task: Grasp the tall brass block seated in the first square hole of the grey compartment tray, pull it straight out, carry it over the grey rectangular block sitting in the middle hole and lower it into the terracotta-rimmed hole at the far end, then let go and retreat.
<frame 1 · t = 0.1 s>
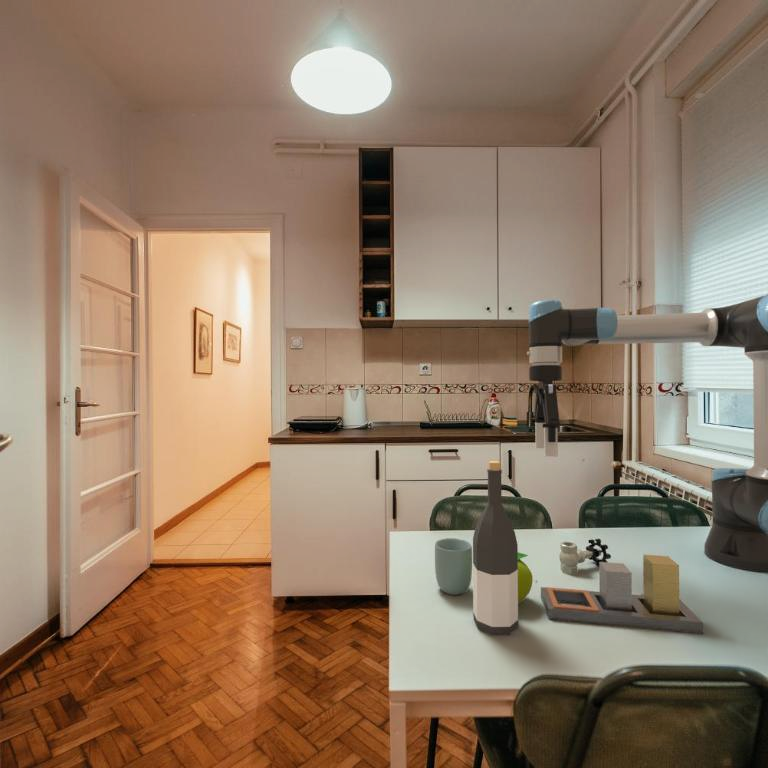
hand: (545, 452, 106), 28 cm above the table, fingers open, 13 cm apart
valve: (581, 570, 105), on the table
grey rectangular block: (615, 590, 84), in the grey compartment tray
fruit: (507, 603, 89), on the table
wine bottle: (495, 625, 80), on the table
grey compartment tray: (615, 613, 84), on the table
brass block: (660, 617, 82), resting in grey compartment tray
cup: (453, 591, 94), on the table
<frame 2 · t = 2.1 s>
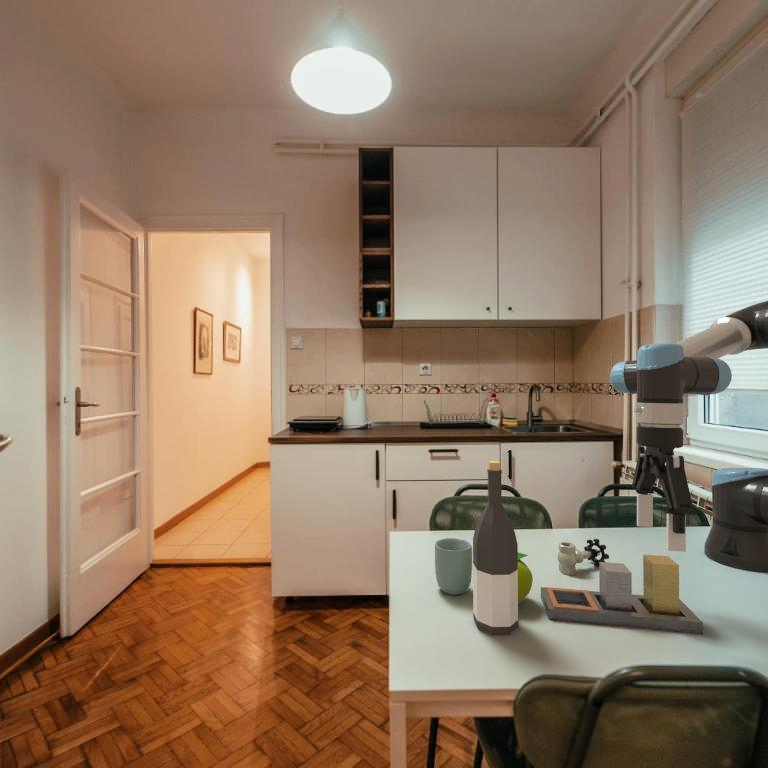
hand: (659, 537, 82), 15 cm above the table, fingers open, 13 cm apart
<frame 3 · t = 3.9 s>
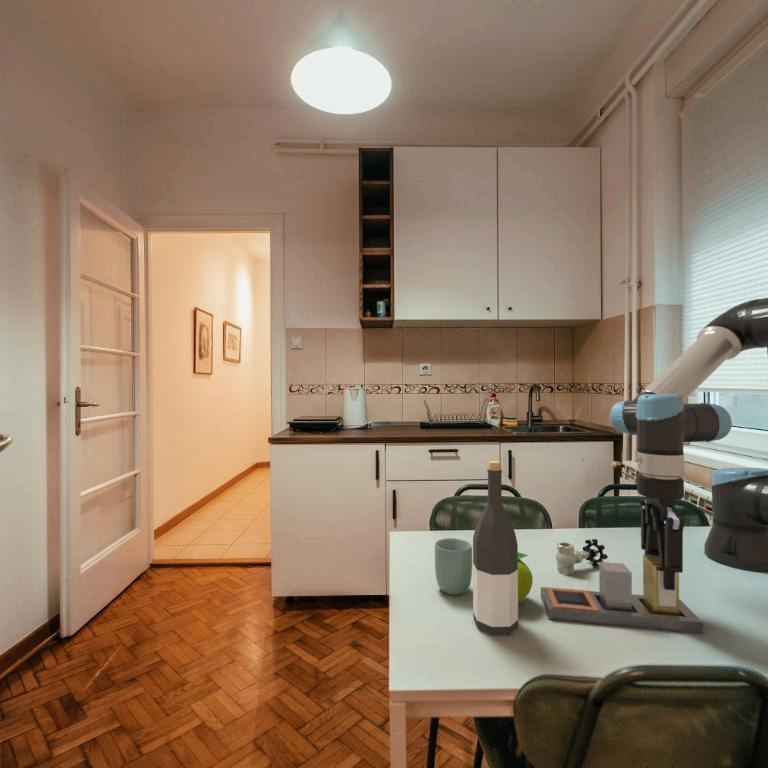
hand: (660, 598, 82), 4 cm above the table, fingers closed on brass block, 4 cm apart
brass block: (660, 617, 82), resting in grey compartment tray, touching gripper
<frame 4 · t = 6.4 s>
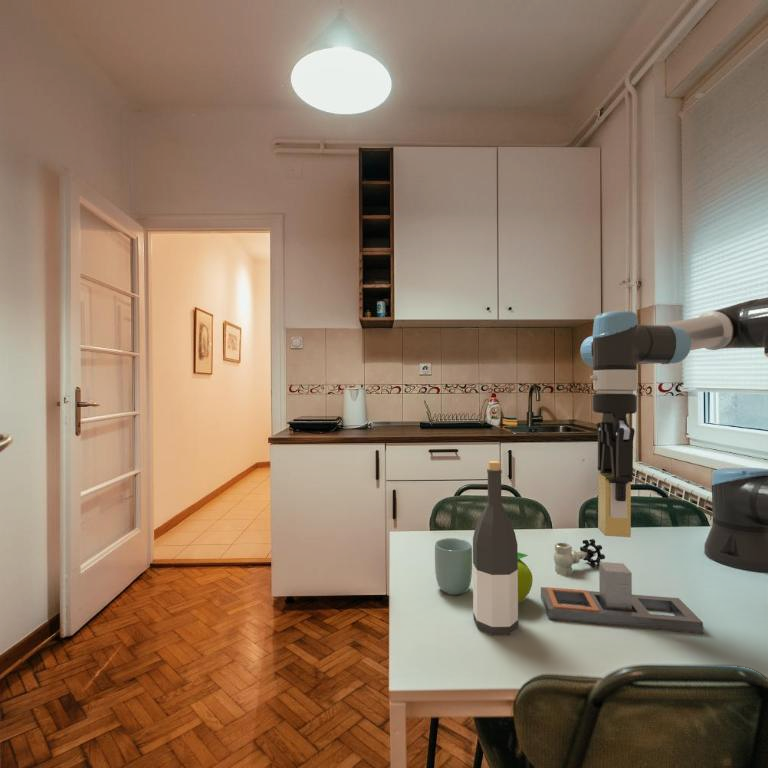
hand: (613, 513, 84), 19 cm above the table, fingers closed on brass block, 4 cm apart
brass block: (613, 532, 84), point 16 cm above the table, touching gripper
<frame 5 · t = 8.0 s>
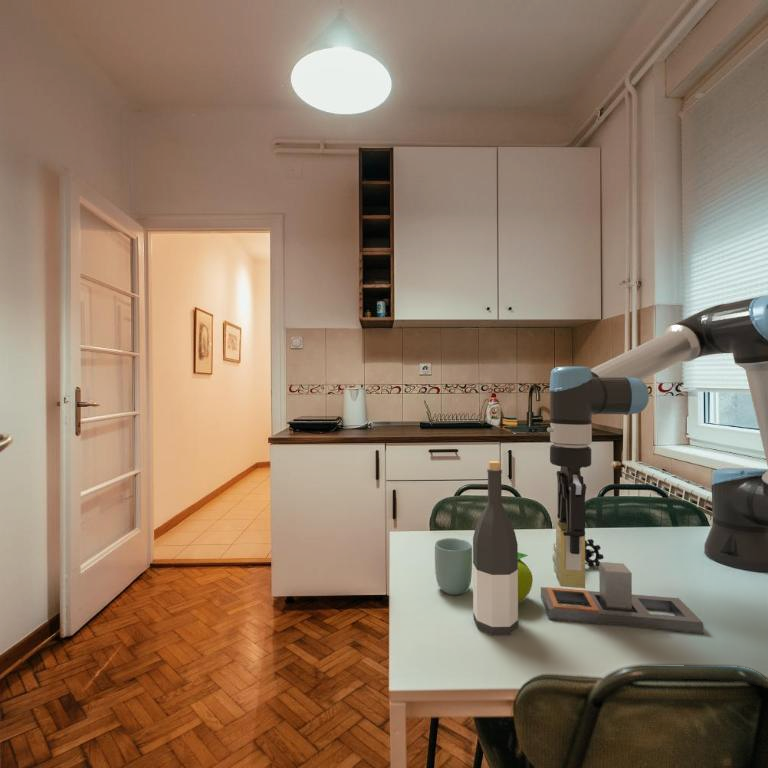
hand: (570, 563, 85), 9 cm above the table, fingers closed on brass block, 4 cm apart
brass block: (570, 582, 85), point 5 cm above the table, touching gripper
when the fingers open (5 cm above the table, at t = 9.2 s): brass block stays where it is, resting in grey compartment tray.
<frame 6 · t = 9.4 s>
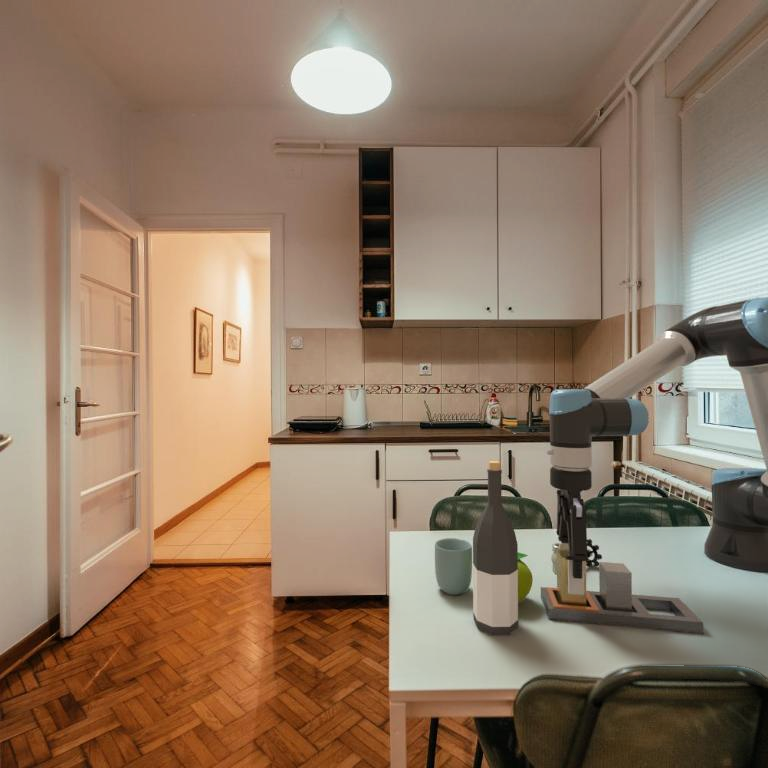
hand: (571, 583, 85), 5 cm above the table, fingers open, 7 cm apart
brass block: (571, 610, 85), resting in grey compartment tray
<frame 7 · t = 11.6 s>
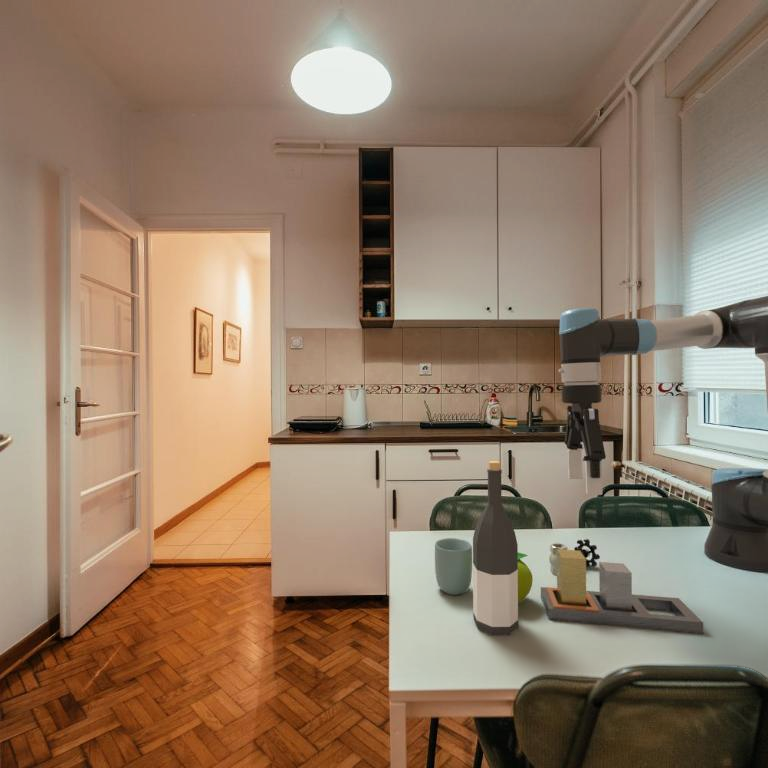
hand: (584, 486, 90), 23 cm above the table, fingers open, 13 cm apart
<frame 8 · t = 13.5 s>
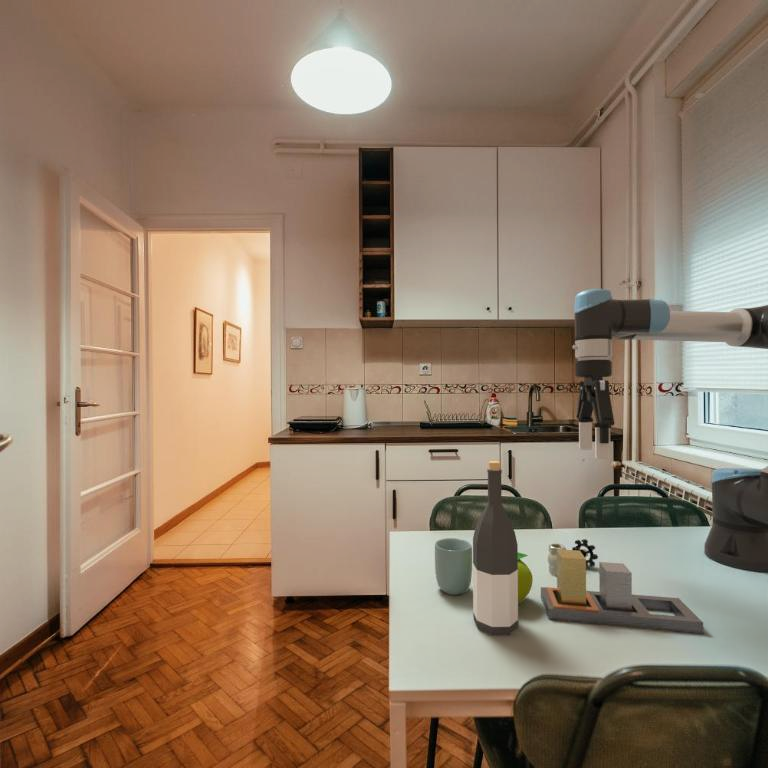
hand: (593, 454, 98), 29 cm above the table, fingers open, 13 cm apart
at the end: brass block 0.1 cm from the target spot on the grey compartment tray, point 0.0 cm above the grey compartment tray's base; brass block tilted 0°; the gripper is holding nothing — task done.
